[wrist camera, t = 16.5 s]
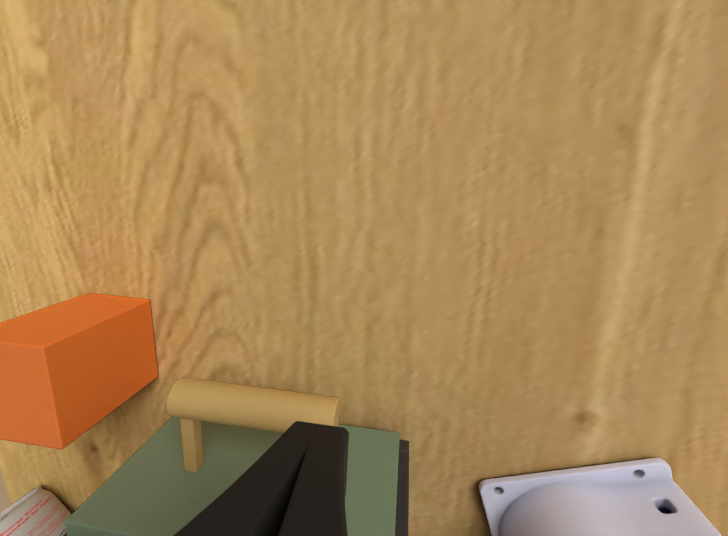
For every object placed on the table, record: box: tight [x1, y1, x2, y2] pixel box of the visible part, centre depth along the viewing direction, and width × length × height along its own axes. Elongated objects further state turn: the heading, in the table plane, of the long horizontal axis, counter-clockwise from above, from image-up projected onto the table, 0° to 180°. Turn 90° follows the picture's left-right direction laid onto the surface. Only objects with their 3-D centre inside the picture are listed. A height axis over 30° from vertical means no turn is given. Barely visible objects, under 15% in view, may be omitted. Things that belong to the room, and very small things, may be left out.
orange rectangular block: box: [0, 293, 158, 449], centre depth 18 cm, size 5×4×6 cm
